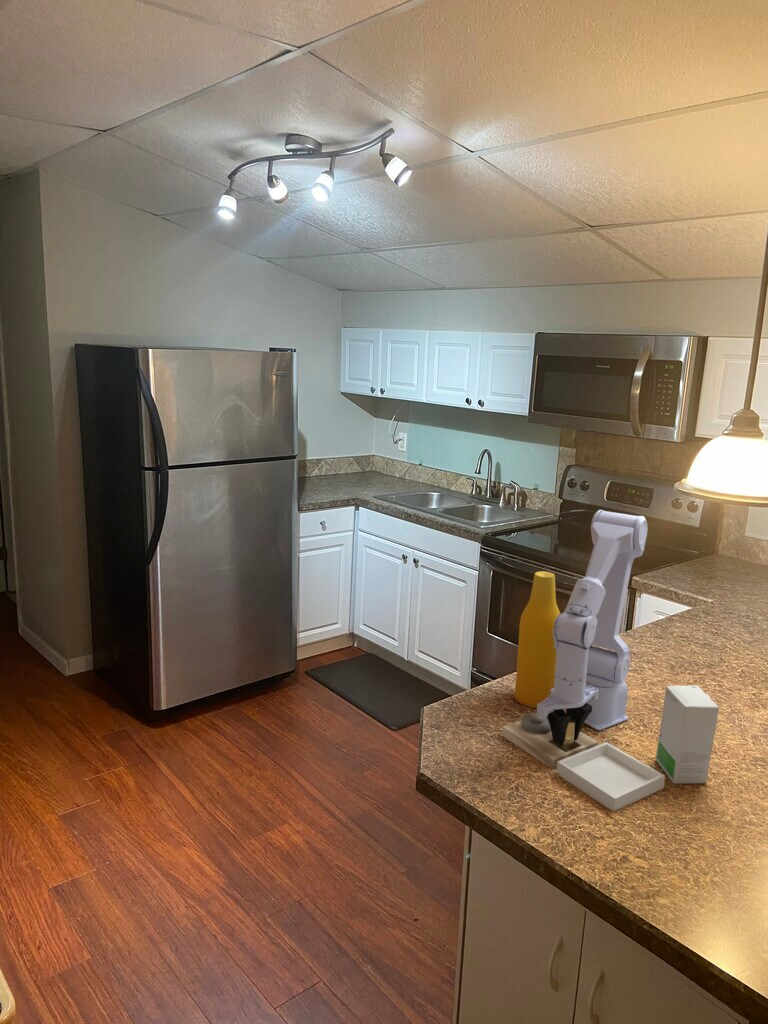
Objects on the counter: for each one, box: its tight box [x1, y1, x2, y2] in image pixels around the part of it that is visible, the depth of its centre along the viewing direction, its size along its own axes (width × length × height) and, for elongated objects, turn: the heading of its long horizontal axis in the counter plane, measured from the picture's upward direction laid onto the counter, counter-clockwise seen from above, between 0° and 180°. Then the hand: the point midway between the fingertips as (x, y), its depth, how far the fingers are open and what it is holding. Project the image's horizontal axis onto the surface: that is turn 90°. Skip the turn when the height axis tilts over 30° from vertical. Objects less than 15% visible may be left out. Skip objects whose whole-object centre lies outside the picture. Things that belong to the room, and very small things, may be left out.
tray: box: [556, 741, 666, 813], centre depth 134 cm, size 13×13×2 cm
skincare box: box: [655, 685, 720, 785], centre depth 136 cm, size 8×7×16 cm
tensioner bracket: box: [501, 713, 599, 770], centre depth 146 cm, size 12×14×4 cm
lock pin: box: [556, 718, 575, 752], centre depth 143 cm, size 3×3×7 cm
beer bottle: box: [514, 570, 561, 709], centre depth 161 cm, size 9×9×29 cm
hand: (565, 740), depth 143 cm, fingers closed on lock pin, 3 cm apart
